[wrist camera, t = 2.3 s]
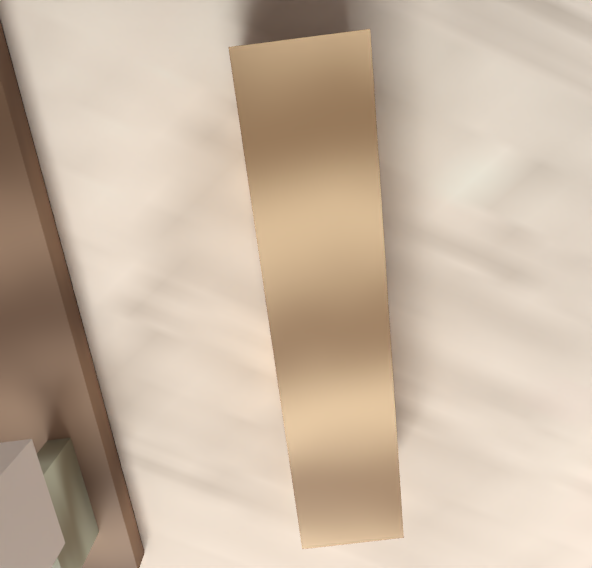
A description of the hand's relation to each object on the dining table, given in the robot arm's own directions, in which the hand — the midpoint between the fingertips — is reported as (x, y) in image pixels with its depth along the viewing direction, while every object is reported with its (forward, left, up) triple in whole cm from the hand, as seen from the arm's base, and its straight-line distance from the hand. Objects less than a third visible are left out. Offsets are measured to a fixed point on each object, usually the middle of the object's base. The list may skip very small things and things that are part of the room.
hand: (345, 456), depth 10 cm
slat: (0, 0, -10) cm, 10 cm away
